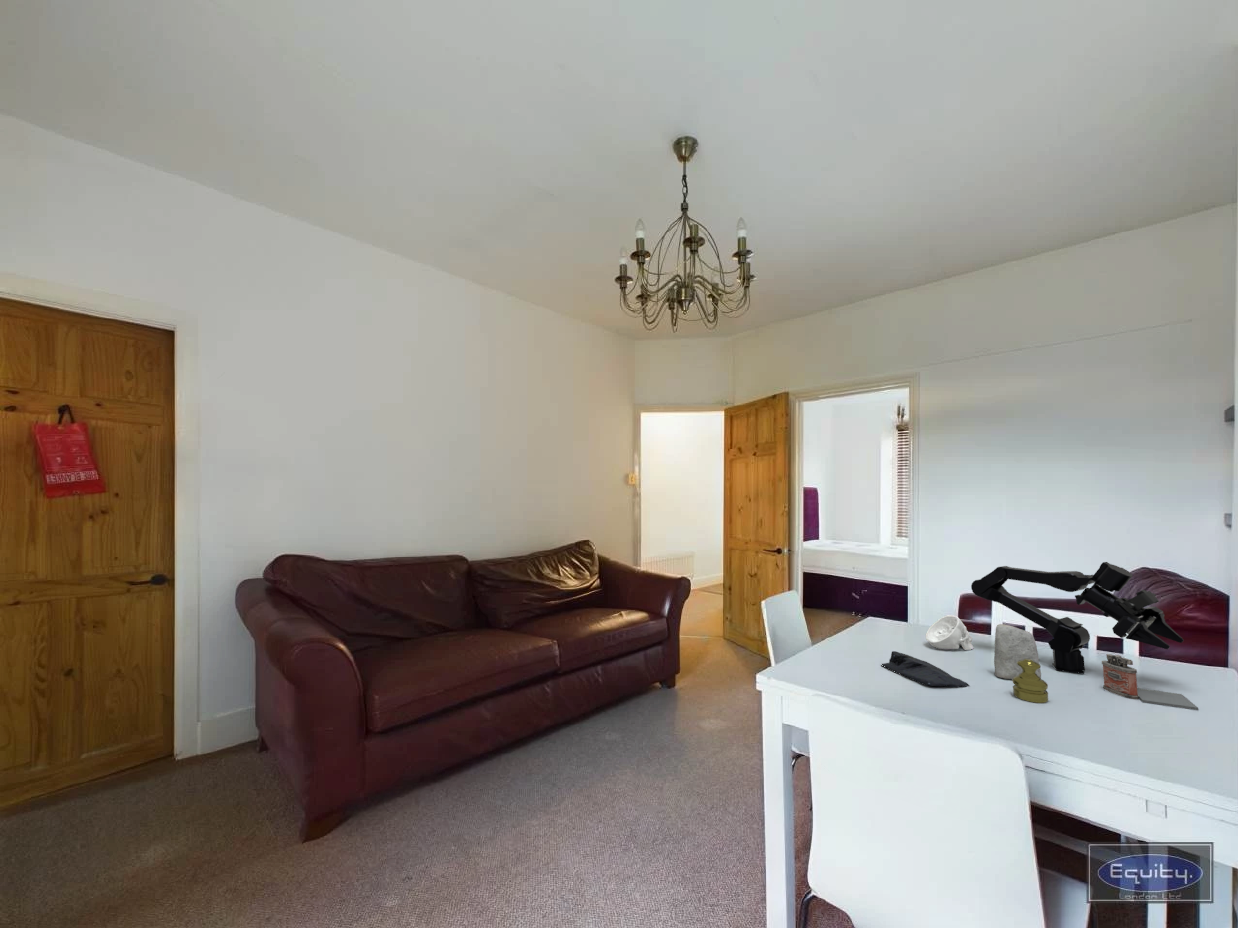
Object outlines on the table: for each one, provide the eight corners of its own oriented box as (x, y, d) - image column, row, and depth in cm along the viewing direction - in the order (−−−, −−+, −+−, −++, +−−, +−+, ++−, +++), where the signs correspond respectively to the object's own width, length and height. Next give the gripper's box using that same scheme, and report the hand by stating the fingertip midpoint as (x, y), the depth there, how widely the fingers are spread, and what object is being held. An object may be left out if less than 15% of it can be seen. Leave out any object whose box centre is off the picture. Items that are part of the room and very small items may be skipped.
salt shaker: (1040, 705, 131) (1037, 665, 132) (1007, 695, 138) (1005, 657, 138) (1054, 699, 135) (1052, 661, 135) (1021, 690, 141) (1019, 653, 142)
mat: (1142, 702, 132) (1142, 699, 132) (1129, 689, 141) (1129, 687, 141) (1198, 710, 127) (1198, 707, 127) (1181, 696, 136) (1181, 693, 136)
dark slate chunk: (923, 691, 143) (923, 674, 143) (877, 665, 165) (876, 650, 165) (975, 689, 144) (974, 671, 144) (922, 663, 166) (921, 648, 166)
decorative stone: (1037, 677, 151) (1034, 625, 152) (1044, 684, 145) (1040, 630, 146) (992, 672, 155) (989, 622, 156) (997, 679, 150) (994, 627, 151)
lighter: (1099, 688, 142) (1097, 651, 143) (1110, 687, 142) (1108, 650, 143) (1131, 699, 134) (1128, 660, 135) (1142, 699, 134) (1140, 660, 135)
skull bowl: (988, 647, 175) (968, 617, 176) (956, 670, 174) (936, 640, 175) (965, 638, 186) (946, 610, 186) (935, 660, 185) (916, 632, 185)
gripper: (1111, 586, 141) (1183, 628, 129) (1141, 578, 149) (1210, 616, 137) (1087, 616, 146) (1153, 659, 134) (1116, 606, 154) (1181, 646, 142)
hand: (1175, 644), depth 137 cm, fingers open, 9 cm apart
